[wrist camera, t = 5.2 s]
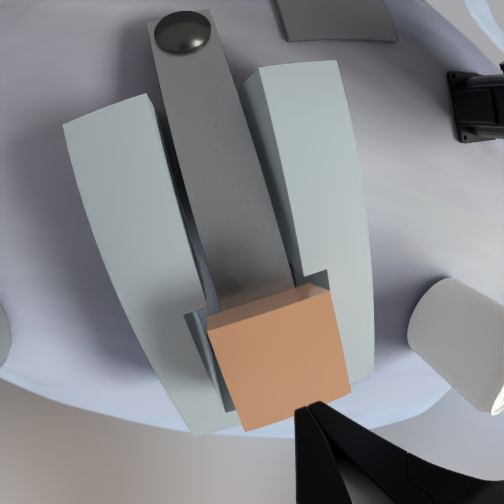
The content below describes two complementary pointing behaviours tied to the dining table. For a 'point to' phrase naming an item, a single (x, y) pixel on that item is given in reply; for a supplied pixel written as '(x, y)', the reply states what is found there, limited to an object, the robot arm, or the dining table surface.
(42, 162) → the dining table surface
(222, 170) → the lever
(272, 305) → the tile
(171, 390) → the grey-green channel block
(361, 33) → the pad
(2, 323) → the plastic bottle
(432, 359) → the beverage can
